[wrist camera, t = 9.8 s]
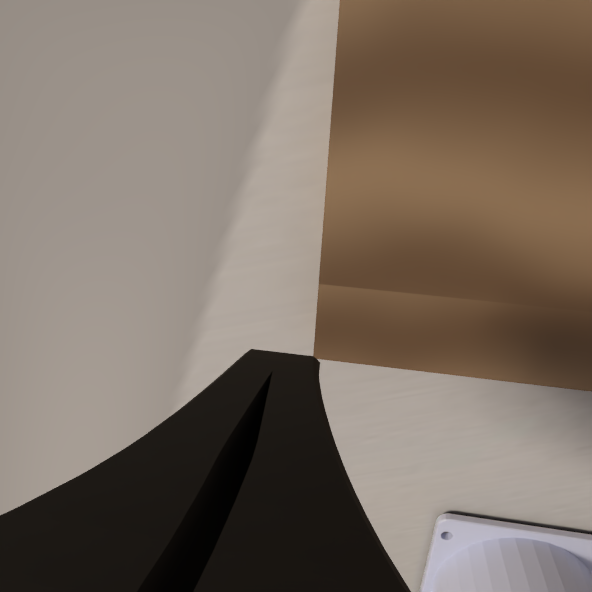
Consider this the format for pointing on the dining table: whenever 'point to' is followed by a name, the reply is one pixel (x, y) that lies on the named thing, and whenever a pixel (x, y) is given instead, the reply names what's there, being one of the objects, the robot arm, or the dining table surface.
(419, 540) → the dining table surface
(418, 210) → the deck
